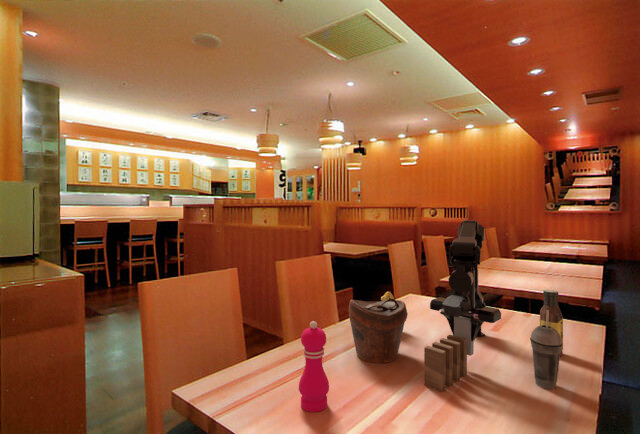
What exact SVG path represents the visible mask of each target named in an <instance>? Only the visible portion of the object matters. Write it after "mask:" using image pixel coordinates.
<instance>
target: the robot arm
mask: <svg viewBox="0 0 640 434" xmlns="http://www.w3.org/2000/svg"><path fill="white" fill-rule="evenodd" d="M485 241H486V230H485V226H483V225H481V224H479V221H477V220H476V219H475V220H472V219H471V220H467V219H464V220H461V223H460V225H458V226H457V238H455V239H453V241H452V244H450V245H449V250H448V251H449V252H448V260H447V266H448V267H453V270H452V272H451V273H450V274H449V277H448V285H449V287H450V294H449V296H448V297H446V298H445V297H441V296H439V297H436V298H433V299H432V300H431V301H430V303H429V309H430V310H433V311H436V312H439V313H440V315H443V316H444V317H445V318H446V321H447V322H448V325H449V328H450V331H451V333H452V334H451V335H454V317H460V316H461V317H466V318H470V321H471V323H472V328H471V341H472V342H473V341H475V340H476V338H477V337H485V336H486V334H485V333H484V332H482V325H483V324H484V323H490V324H495V323H496V322H498V321H500V320H501V319H502V312H501V310H500V309H499V308H496V307H491V306H488V305H486V303H485V302H484V297H483V295H482V293H481V292H480V290H479V266H480V265H481V256H482V250H481V249H482V247H483V244H484V242H485Z"/></svg>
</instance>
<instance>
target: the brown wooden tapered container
mask: <svg viewBox="0 0 640 434" xmlns="http://www.w3.org/2000/svg"><path fill="white" fill-rule="evenodd" d="M348 303H349V306H348V313H349V314H348V318H349V322H350V327H351V332H352V333H351V334H352V336H353V342H354V347H355V353H356V356H357V357H359V359H361V360H363V361H366V362H370V363H375V364H376V363H377V364H381V363H382V364H385V363H390V362H393V361H395V360H396V359H397V358H398V356H399V351H400V346H401V341H402V337H403V331H404V327H405V324H406V323H405V322H406V321H407V319H408V310H407V305H406V303H405V302H404V301H402V300H398V299H397V300H396V299H395V298H394V299H389V300H387V301H382V300H381V301H365V300H357V299H352V298H351V299H350V300H349V302H348Z"/></svg>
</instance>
